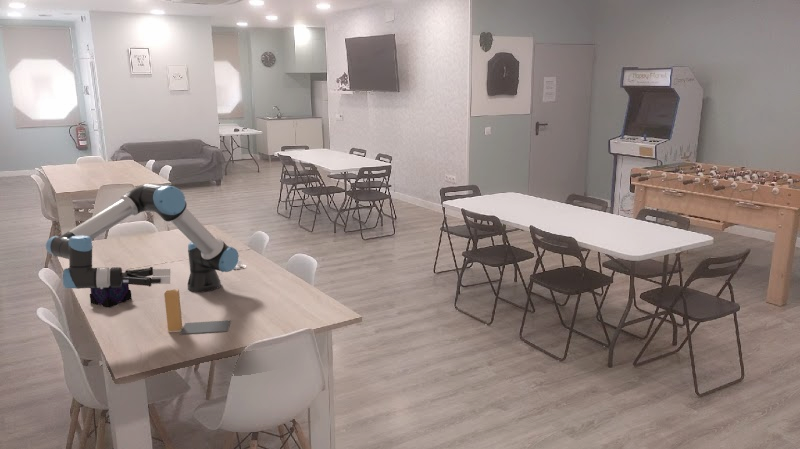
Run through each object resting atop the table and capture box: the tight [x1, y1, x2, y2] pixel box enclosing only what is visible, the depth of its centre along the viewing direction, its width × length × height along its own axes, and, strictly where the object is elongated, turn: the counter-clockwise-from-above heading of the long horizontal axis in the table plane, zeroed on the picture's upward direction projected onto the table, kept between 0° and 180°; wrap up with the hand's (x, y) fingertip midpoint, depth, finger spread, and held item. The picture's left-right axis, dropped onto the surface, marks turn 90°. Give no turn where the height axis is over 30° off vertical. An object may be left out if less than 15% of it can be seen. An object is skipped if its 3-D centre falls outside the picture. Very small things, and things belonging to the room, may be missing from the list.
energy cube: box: [89, 282, 133, 309], centre depth 270 cm, size 12×12×12 cm
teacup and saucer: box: [233, 259, 247, 270], centre depth 321 cm, size 9×8×4 cm
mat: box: [179, 319, 232, 335], centre depth 240 cm, size 18×11×1 cm, turn 98°
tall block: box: [163, 288, 183, 333], centre depth 237 cm, size 4×4×16 cm
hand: (170, 275), depth 234 cm, fingers open, 13 cm apart
